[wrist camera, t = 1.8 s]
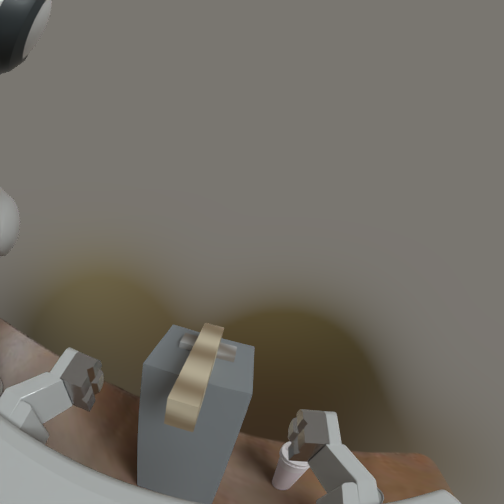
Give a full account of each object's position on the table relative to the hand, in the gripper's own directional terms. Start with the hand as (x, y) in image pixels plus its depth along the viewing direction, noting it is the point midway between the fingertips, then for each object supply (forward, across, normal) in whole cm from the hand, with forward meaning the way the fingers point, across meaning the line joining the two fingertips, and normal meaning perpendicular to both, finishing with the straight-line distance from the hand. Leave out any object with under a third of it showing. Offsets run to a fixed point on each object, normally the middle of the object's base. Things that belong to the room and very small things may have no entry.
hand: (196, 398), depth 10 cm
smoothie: (+11, -17, +42) cm, 47 cm away
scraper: (+13, +1, +15) cm, 20 cm away
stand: (+10, +1, +42) cm, 43 cm away
